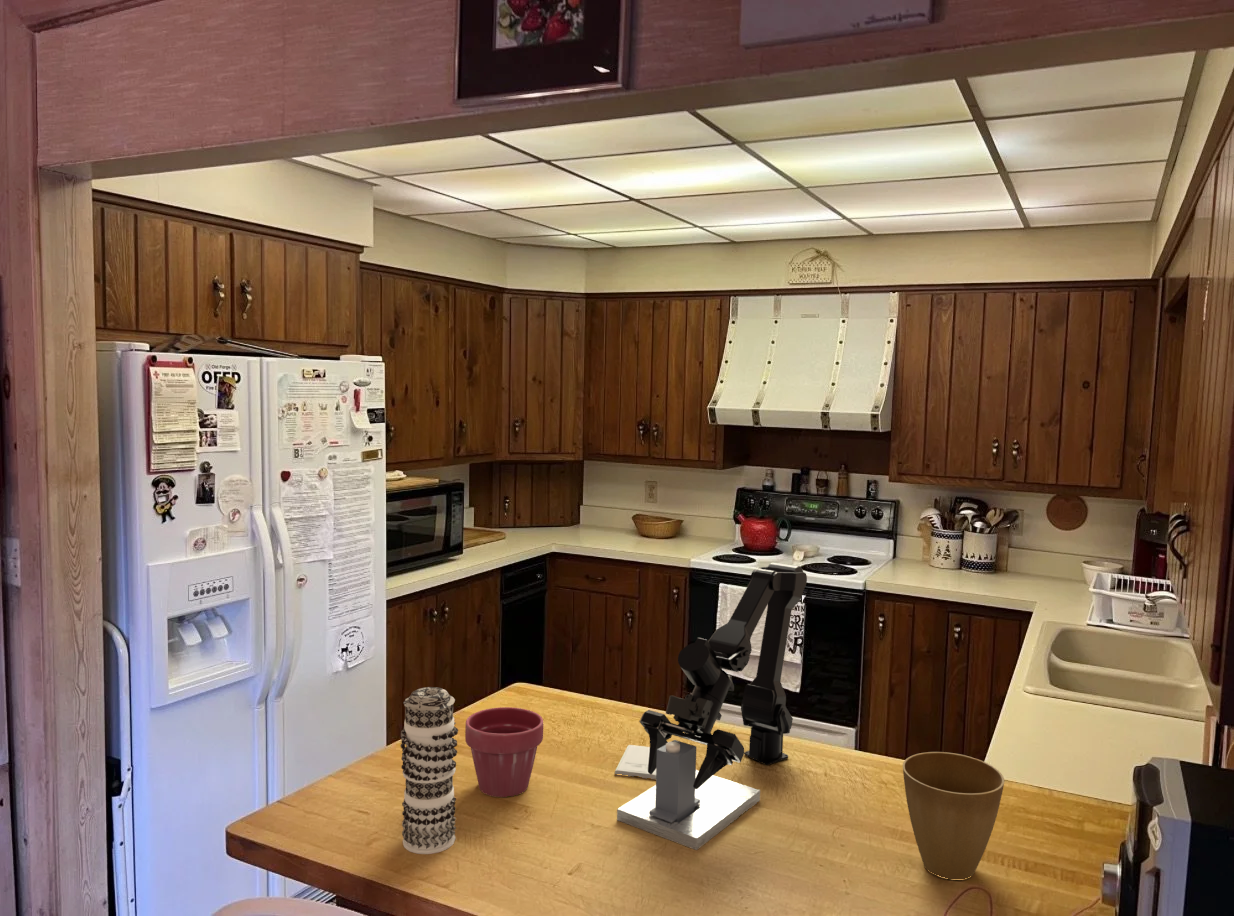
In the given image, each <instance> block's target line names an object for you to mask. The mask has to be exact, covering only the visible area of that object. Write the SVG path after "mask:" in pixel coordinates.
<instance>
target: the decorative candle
mask: <svg viewBox="0 0 1234 916" xmlns="http://www.w3.org/2000/svg"><path fill="white" fill-rule="evenodd" d="M455 701H456V699H455V698H454V697H453V696H452V695H450V694H449V692H448V691H447V690H446V689H443V688H441V687H436V686H435V687H433V686H427V687H421V688H418V689H416V690H413V691H412V692H411V694H410V695H409V697H407V698H405V700H404V701H403V705H404V707H405V710H404V711H405V719H404V720H403V721H404V723H403V724H404V726H403V729H402V730H401V731H400V739H401V743H400V745H399V746H400V748H401V749H402V750H401V752H402V753H401V761H402V765H401V769H402V774H403V775H402V776H403V779H405V789H404V793H403V794H404V795H403V796H404V797H403V802H402V803H401V804H402V807H403V811H402V813H401V814H402V816H403V820H402V822H401V826H402V828H403V830H402V832H401V835H402V837H403V839H402V845H403V848H404V849H405V850H407V851H408V852H410V853H414V854H417V855H432V854H438V853H442V852H443V851H446V850H448V849H449V848H451V847H452V846H453V845H454V843H455V841H456V835H455V834H456V831H455V830H456V829H457V827H456V821H457V817H455V814H456V809H457V808H456V806H455V805H456V800H457V798H456V797H455V787H454V785H453V784H454V781H453V780H454V778H453V776H454V775H455V773H456V770H457V769H456V767H457V762H456V761H455V760H454V759H453V758H454V757H456V756H457V754H458V750H457V749H456V747H457V746H458V740H457V739H455V738H454V736H457V735H458V733H459V729H458V728H457V727H456V726H455V725H456V724H457V722H455V717H454V703H455Z"/></svg>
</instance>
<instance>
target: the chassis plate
mask: <svg viewBox="0 0 1234 916" xmlns="http://www.w3.org/2000/svg"><path fill="white" fill-rule="evenodd" d="M698 772H699V770H698V769H696V776H697V774H698ZM695 779H696V778H695ZM695 798H697V799H700V803H699V804H698V805H696V806H695V812H694V813H692V814H691V815H690V816H688V817H687V818H685V819H684V820H682V821H681V822H680V823H678V822H675V821H673V822H672V823H671V822H668V821H666V820H663V819H660V818H657V817H655V816H652V815H649V811H650V810H652V809H653V808H655V802H656V784H654V786H652V787H650V788H648V789H646V790H645V791H644V792H642V793H640V794H639V795H637V796H636V797H634V798H632V799H631V800H629V801H628V802H626V803H624V804H623V805H621V806H619V807H618V808H617V810H616V821H619V822H622V823H623V824H626V825H629V826H631V827H634V828H637V829H639V830H641V831H644V832H647V833H650V834H653V835H656V836H658V837H660V838H663V839H666V840H668V841H671V842H674V843H677V844H679V845H682V846H683V847H684V846H685V847H687V848H690V849H692V850H696V851H698V850H699V849H700V848H701V847H703V846H704V845H705V844H706V843H708V842H709V841H710V840H712V838H713V839H714V837H715V836H717V835H718V834H720V832H721V831H723V830H725V828H727V827H728V826H729V825H730V823H731V824H732V823H733V822H735V821H736V820H737V819H739V818H740V817H741V816H742V815H744V814H745V813H746V812H747V811H748V809H749V808H750V809H752V808H753V807H752V806H755V805H757V804H758V803H759V802H760V801H761V789H757V788H755V787H751V786H749V785H748V786H747V785H745V784H742V783H738V782H736V781H732V780H729V779H727V778H724V777H720V776H716V775H715V774H714V775H713V776H711V777H710V778H709V779H708V780H707V781H706V782H705V783H704V784H703V785H701V786H700V787H699V788H698V789H695ZM757 802H758V803H757ZM750 809H749V810H750ZM745 811H746V812H745ZM744 812H745V813H744ZM743 813H744V814H743ZM741 814H742V815H741ZM740 815H741V816H740ZM739 816H740V817H739ZM734 820H735V821H734Z"/></svg>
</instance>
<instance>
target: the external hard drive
mask: <svg viewBox="0 0 1234 916" xmlns="http://www.w3.org/2000/svg"><path fill="white" fill-rule="evenodd" d="M649 752H650V746H646V745H645V746H644V745H634V744H628V745H627V747H626V748H625V750H624V752H623V755H622V757H621V758H620V761H619V763H618V765H617V767H616V768H615V771H614V775H615V774H622V775H628V776H627V777H630V776H632V777H634V776H639V777H642V778H641V779H647V778H651V779H650V780H656V769H655V771H654V772H653V773H652V774H649V772H648V763H649ZM639 777H638V778H639Z"/></svg>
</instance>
